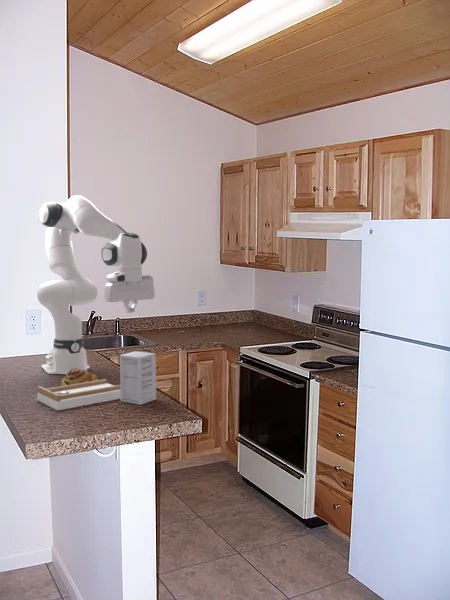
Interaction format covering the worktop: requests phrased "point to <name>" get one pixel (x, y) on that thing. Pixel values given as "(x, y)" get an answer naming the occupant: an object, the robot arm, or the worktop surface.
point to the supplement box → (138, 377)
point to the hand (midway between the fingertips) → (130, 312)
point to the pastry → (78, 377)
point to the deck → (78, 394)
